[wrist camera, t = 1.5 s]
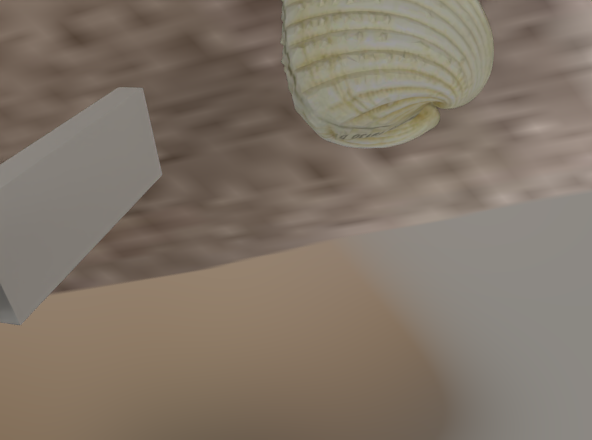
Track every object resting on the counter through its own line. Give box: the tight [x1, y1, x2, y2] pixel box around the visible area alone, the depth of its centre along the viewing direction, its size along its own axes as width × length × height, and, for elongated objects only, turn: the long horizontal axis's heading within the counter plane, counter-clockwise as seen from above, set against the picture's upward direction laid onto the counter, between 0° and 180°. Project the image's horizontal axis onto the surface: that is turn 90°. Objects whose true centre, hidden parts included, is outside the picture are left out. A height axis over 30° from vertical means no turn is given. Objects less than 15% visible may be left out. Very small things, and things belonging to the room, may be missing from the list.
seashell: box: [280, 0, 494, 148], centre depth 21 cm, size 8×8×8 cm
